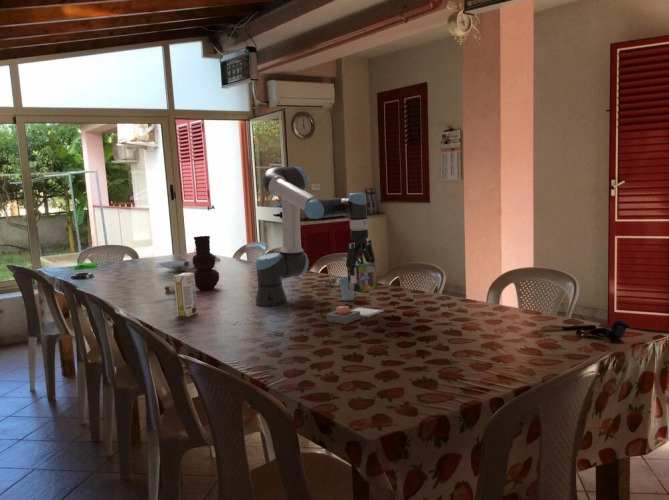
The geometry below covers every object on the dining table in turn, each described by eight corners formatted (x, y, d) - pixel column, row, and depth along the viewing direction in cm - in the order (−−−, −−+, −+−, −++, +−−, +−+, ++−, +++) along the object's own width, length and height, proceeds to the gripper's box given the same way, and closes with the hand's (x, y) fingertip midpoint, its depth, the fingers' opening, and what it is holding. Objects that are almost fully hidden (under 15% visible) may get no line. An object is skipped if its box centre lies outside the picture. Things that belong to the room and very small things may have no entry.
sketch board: (342, 313, 248) (341, 312, 247) (358, 307, 257) (358, 306, 257) (368, 317, 239) (368, 316, 239) (384, 311, 248) (384, 310, 248)
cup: (359, 299, 273) (357, 278, 272) (344, 301, 270) (343, 280, 269) (352, 296, 280) (350, 275, 279) (337, 299, 277) (336, 278, 276)
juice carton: (200, 312, 265) (196, 272, 262) (188, 317, 257) (184, 275, 254) (187, 312, 268) (183, 272, 265) (174, 316, 260) (171, 275, 258)
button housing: (326, 321, 236) (326, 314, 236) (341, 315, 244) (341, 309, 244) (345, 324, 230) (345, 317, 230) (360, 318, 238) (359, 311, 237)
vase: (226, 288, 321) (221, 235, 317) (206, 293, 308) (201, 238, 305) (206, 286, 330) (201, 234, 326) (186, 292, 317) (181, 238, 313)
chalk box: (377, 289, 245) (375, 255, 243) (359, 292, 240) (357, 257, 238) (365, 286, 253) (363, 253, 251) (347, 289, 248) (345, 255, 246)
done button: (334, 314, 236) (333, 307, 236) (342, 311, 240) (341, 305, 240) (344, 316, 233) (343, 309, 233) (351, 313, 237) (351, 306, 237)
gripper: (349, 232, 232) (352, 286, 235) (381, 226, 250) (384, 276, 252) (335, 232, 237) (338, 284, 239) (367, 226, 254) (370, 275, 257)
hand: (361, 280), depth 246 cm, fingers closed on chalk box, 10 cm apart
